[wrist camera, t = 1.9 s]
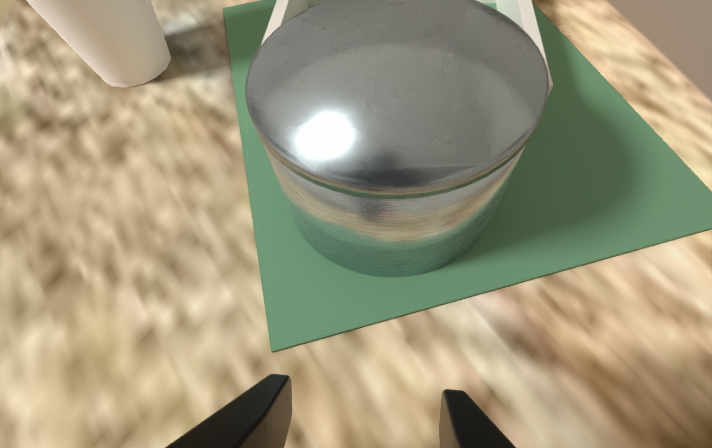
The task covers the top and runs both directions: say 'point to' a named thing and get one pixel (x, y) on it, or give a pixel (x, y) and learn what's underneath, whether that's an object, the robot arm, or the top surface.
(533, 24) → the beige thin-walled piece
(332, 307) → the green mat
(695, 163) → the top surface
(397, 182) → the chrome metal canister
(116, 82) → the foam cup
